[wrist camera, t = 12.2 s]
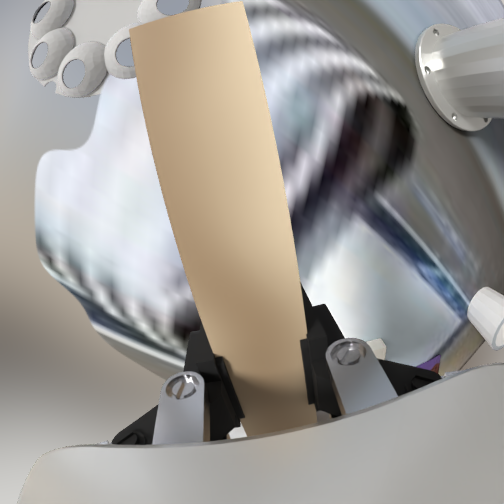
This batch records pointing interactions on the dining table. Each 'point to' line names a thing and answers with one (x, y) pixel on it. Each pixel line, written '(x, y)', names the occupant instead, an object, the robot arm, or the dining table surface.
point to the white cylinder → (488, 316)
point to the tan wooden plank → (227, 205)
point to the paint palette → (88, 39)
